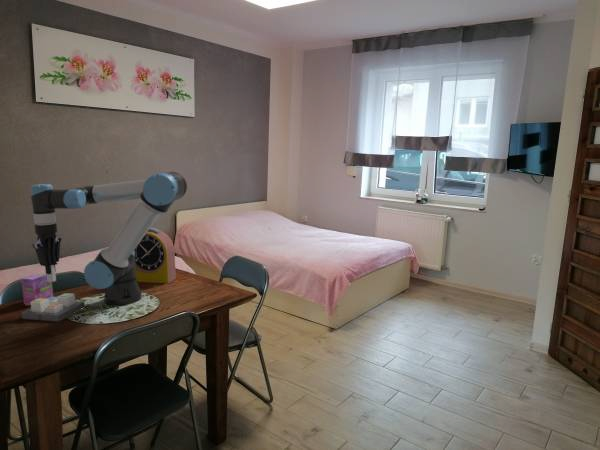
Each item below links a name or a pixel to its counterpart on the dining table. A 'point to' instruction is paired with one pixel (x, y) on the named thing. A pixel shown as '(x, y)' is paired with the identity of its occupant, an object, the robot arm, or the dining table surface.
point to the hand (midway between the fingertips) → (51, 280)
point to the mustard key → (39, 305)
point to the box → (36, 287)
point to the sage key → (66, 299)
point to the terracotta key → (53, 308)
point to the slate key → (53, 300)
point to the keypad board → (53, 316)
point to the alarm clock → (155, 258)
